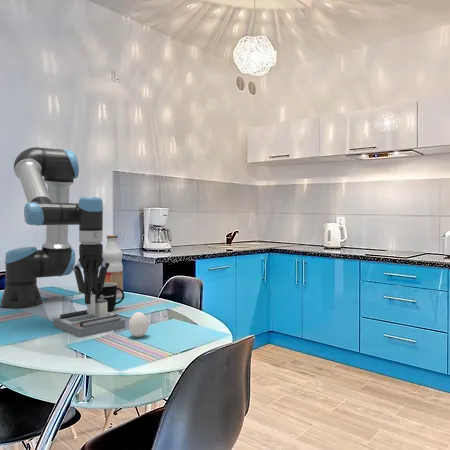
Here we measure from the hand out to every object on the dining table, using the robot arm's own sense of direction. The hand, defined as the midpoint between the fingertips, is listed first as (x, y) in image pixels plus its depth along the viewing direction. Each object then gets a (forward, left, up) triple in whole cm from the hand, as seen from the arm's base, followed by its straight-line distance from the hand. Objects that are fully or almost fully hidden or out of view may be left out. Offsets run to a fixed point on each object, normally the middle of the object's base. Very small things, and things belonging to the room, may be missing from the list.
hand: (91, 313), depth 142 cm
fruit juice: (-37, +31, -5) cm, 49 cm away
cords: (+1, -1, -2) cm, 2 cm away
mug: (-17, +17, -5) cm, 25 cm away
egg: (+21, +4, -5) cm, 22 cm away
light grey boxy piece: (0, +4, -2) cm, 4 cm away
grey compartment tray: (0, -1, -4) cm, 4 cm away
